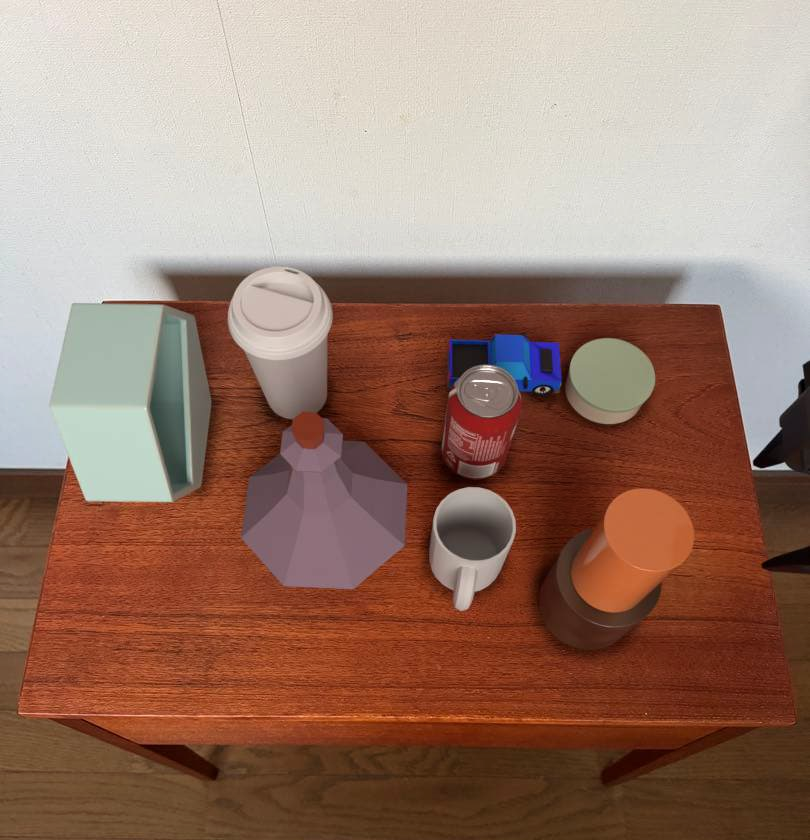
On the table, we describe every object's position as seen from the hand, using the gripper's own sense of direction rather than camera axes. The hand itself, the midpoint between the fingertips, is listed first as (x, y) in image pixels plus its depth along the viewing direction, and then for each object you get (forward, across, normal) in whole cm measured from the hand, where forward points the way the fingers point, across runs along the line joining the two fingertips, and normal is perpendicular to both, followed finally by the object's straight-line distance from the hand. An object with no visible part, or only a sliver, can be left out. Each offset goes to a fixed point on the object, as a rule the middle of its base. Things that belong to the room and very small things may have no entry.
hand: (760, 514), depth 58 cm
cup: (+22, +2, -15) cm, 27 cm away
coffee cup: (+29, -15, -33) cm, 47 cm away
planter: (+34, -7, -44) cm, 56 cm away
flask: (+28, 0, -27) cm, 39 cm away
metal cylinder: (+17, +4, -4) cm, 18 cm away
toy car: (+21, -21, -13) cm, 32 cm away
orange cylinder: (+10, +4, -7) cm, 13 cm away
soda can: (+22, -11, -15) cm, 29 cm away
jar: (+16, -20, -3) cm, 26 cm away
